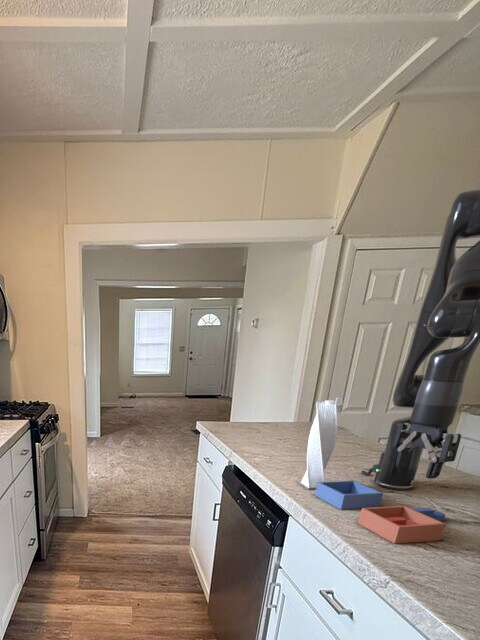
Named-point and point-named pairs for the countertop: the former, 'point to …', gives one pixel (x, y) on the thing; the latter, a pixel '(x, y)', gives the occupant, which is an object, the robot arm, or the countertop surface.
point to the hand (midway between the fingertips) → (415, 472)
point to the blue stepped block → (431, 513)
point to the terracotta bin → (406, 533)
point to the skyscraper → (321, 442)
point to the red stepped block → (401, 521)
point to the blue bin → (348, 494)
